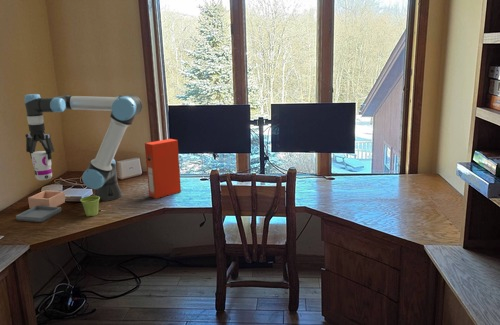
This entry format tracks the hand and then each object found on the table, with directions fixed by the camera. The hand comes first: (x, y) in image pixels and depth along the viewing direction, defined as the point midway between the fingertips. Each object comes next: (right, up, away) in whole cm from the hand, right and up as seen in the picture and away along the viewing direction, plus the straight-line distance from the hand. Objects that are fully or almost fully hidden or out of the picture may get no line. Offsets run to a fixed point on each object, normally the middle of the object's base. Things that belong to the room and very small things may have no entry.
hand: (42, 164), depth 221 cm
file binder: (+63, -18, +22) cm, 69 cm away
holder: (0, -22, +6) cm, 23 cm away
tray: (+4, -26, -10) cm, 28 cm away
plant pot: (+31, -26, -9) cm, 41 cm away
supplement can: (0, -8, +2) cm, 8 cm away
